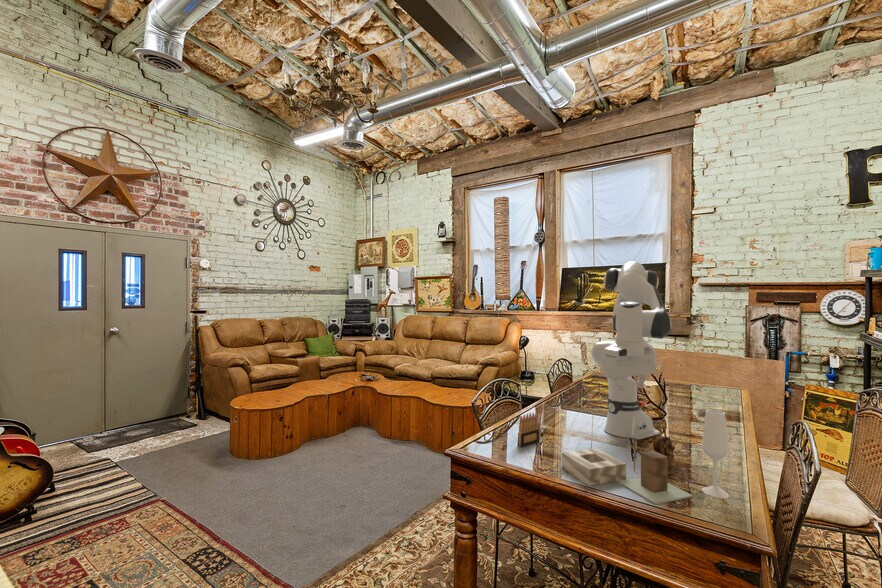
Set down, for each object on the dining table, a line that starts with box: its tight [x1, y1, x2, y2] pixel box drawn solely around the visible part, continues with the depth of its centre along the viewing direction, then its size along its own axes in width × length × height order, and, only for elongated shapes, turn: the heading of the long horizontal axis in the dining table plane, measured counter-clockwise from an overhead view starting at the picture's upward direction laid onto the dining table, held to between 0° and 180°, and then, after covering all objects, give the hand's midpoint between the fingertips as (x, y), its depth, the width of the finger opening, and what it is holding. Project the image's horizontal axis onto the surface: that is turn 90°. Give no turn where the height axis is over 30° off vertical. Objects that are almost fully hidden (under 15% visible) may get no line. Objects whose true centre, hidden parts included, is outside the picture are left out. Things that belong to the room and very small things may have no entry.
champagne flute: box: [701, 409, 730, 499], centre depth 120 cm, size 7×7×24 cm
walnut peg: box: [640, 450, 669, 493], centre depth 122 cm, size 5×5×10 cm
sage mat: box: [617, 476, 693, 505], centre depth 121 cm, size 14×14×1 cm
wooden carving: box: [652, 435, 676, 468], centre depth 138 cm, size 16×5×10 cm, turn 137°
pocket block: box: [561, 447, 627, 487], centre depth 132 cm, size 14×14×5 cm
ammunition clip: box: [517, 411, 540, 448], centre depth 159 cm, size 11×2×12 cm, turn 126°
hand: (629, 388), depth 139 cm, fingers open, 8 cm apart
